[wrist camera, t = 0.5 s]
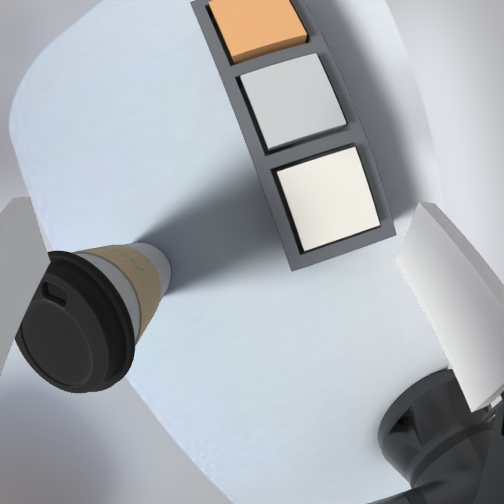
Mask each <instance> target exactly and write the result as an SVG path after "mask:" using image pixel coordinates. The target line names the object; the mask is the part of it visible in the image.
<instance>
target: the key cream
mask: <svg viewBox="0 0 504 504" xmlns="http://www.w3.org/2000/svg"><path fill="white" fill-rule="evenodd" d="M277 175H278V178H279V180H280V183H281V186H282V189H283V192H284V194H285V197H286V200H287V203H288V206H289V209H290V212H291V214H292V217H293V220H294V223H295V226H296V229H297V232H298V235H299V238H300V241H301V244H302V247H303V249H304V251H306V250H309V249H312V248H315V247H318V246H321V245H324V244H327V243H330V242H332V241H335V240H338V239H341V238H344V237H347V236H350V235H353V234H356V233H358V232H361V231H364V230H367V229H370V228H373V227H376V226H379V225H380V223H379V220H378V216H377V213H376V209H375V206H374V203H373V199H372V196H371V193H370V190H369V187H368V183H367V180H366V177H365V174H364V171H363V168H362V165H361V162H360V159H359V156H358V154H357V151H356V148H355V147H353V148H349V149H346V150H343V151H340V152H336V153H333V154H330V155H327V156H324V157H320V158H317V159H314V160H311V161H308V162H305V163H302V164H299V165H296V166H293V167H290V168H287V169H284V170H281V171H278V172H277Z"/></svg>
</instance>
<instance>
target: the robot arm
mask: <svg viewBox="0 0 504 504" xmlns="http://www.w3.org/2000/svg"><path fill="white" fill-rule="evenodd" d="M395 263H396V265H397V267H398V268H399V270H400V272H401V273H402V275H403V277H404V278H405V280H406V282H407V284H408V285H409V287H410V289H411V291H412V292H413V294H414V296H415V298H416V299H417V301H418V303H419V305H420V307H421V308H422V310H423V312H424V314H425V316H426V318H427V319H428V321H429V323H430V325H431V327H432V329H433V331H434V333H435V335H436V337H437V339H438V340H439V342H440V344H441V346H442V348H443V350H444V353H445V355H446V357H447V359H448V361H449V363H450V365H451V367H452V369H449V370H444V371H440V372H437V373H435V374H432V375H430V376H428V377H426V378H424V379H422V380H421V381H419V382H417V383H416V384H414V385H413V386H411V387H410V388H409V389H408V390H406V391H405V392H404V393H403V394H402V395H401V396H400V397H399V398H398V399H397V400H396V401H395V402H394V403H393V404H392V405H391V407H390V408H389V409H388V411H387V412H386V414H385V415H384V417H383V419H382V421H381V424H380V427H379V431H378V441H379V445H380V447H381V450H382V453H383V455H384V457H385V459H386V460H387V461H388V462H389V463H390V464H391V465H392V466H393V467H394V468H395V469H396V470H397V471H398V472H399V473H400V474H401V475H402V476H403V477H404V478H405V479H406V480H407V481H408V482H409V483H410V486H411V488H412V489H411V490H408V491H405V492H402V493H399V494H396V495H394V496H391V497H388V498H384V499H381V500H378V501H375V502H372V503H368V504H504V285H503V284H502V282H501V281H500V280H499V278H498V277H497V276H496V274H495V273H494V272H493V270H492V269H491V268H490V266H489V265H488V264H487V263H486V261H485V260H484V259H483V258H482V257H481V255H480V254H479V253H478V252H477V250H476V249H475V248H474V247H473V246H472V244H471V243H470V242H469V241H468V240H467V239H466V237H465V236H464V235H463V234H462V233H461V232H460V231H459V229H458V228H457V227H456V226H455V225H454V224H453V223H452V222H451V220H450V219H448V217H447V216H446V215H445V214H444V213H443V212H442V211H441V210H440V209H439V208H438V207H437V205H436V204H435V203H426V202H418V205H417V208H416V210H415V213H414V216H413V219H412V221H411V224H410V227H409V229H408V232H407V235H406V237H405V240H404V242H403V245H402V247H401V250H400V252H399V255H398V257H397V259H396V262H395ZM49 264H50V259H49V256H48V253H47V250H46V247H45V245H44V242H43V239H42V235H41V233H40V229H39V226H38V223H37V219H36V216H35V213H34V209H33V206H32V202H31V198H30V197H19V198H13V199H12V200H11V201H10V202H9V204H8V205H7V206H6V207H5V208H4V209H3V210H2V211H1V213H0V375H1V372H2V369H3V367H4V364H5V361H6V359H7V356H8V353H9V351H10V348H11V345H12V343H13V341H14V338H15V336H16V333H17V331H18V328H19V326H20V324H21V321H22V319H23V317H24V315H25V312H26V310H27V308H28V306H29V304H30V302H31V300H32V297H33V295H34V293H35V291H36V289H37V287H38V285H39V283H40V281H41V279H42V277H43V275H44V273H45V271H46V270H47V268H48V266H49ZM499 395H501V397H502V399H503V400H502V401H500V402H499V403H498V404H497V405H496V406H495V407H493V408H492V407H491V404H490V403H491V402H492V401H493V400H494V399H496V398H497V397H498V396H499ZM494 414H495V417H494Z"/></svg>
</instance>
